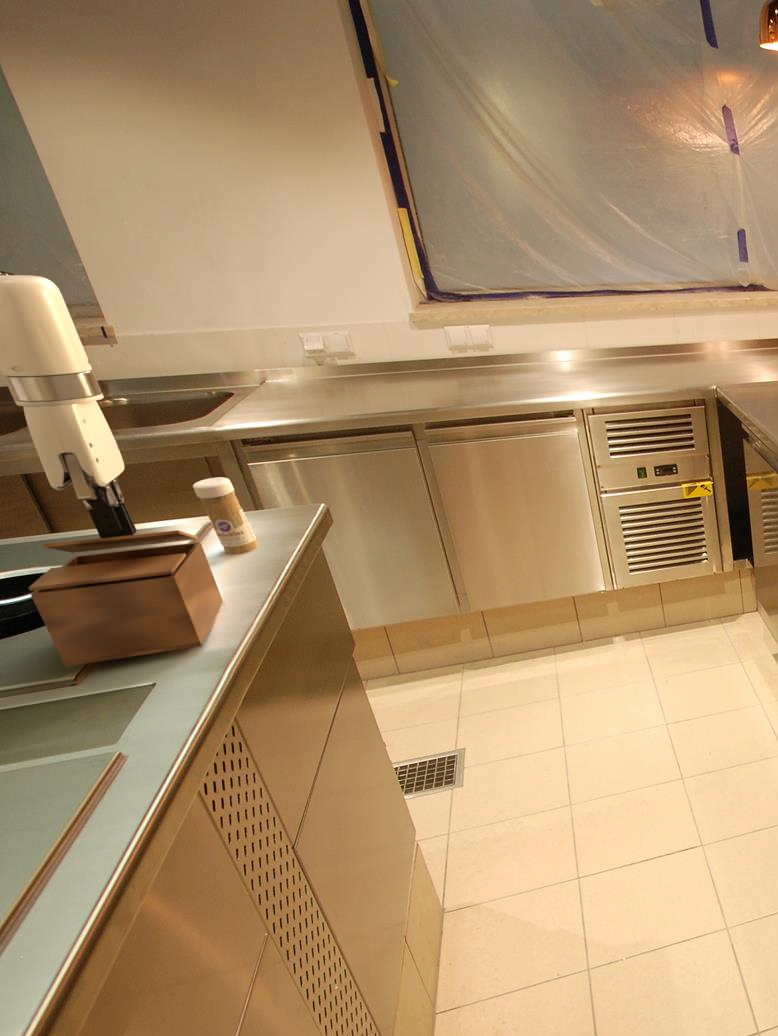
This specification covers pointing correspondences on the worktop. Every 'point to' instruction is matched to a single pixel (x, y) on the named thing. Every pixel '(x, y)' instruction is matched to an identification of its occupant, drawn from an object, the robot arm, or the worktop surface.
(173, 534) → the flap
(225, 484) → the sprinkles bottle
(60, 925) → the worktop surface
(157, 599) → the brown wooden box
